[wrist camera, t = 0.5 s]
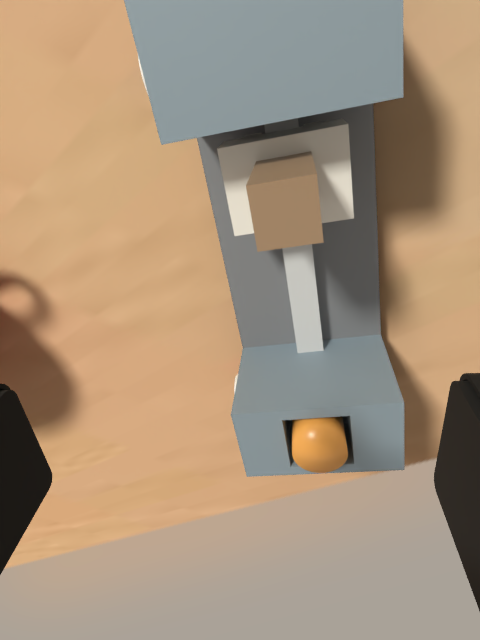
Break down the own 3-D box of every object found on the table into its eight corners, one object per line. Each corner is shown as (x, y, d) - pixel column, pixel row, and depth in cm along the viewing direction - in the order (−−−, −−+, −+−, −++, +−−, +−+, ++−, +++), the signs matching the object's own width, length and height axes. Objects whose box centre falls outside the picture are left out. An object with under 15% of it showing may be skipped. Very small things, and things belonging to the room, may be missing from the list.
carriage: (340, 117, 25) (365, 138, 17) (346, 200, 28) (370, 257, 19) (226, 139, 27) (195, 170, 18) (241, 217, 29) (219, 277, 20)
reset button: (341, 400, 29) (346, 432, 27) (344, 438, 31) (349, 471, 28) (289, 404, 30) (288, 435, 27) (295, 441, 32) (295, 474, 29)
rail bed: (364, -31, 24) (403, -87, 15) (379, 383, 37) (404, 469, 29) (166, 19, 26) (107, -7, 18) (249, 393, 39) (239, 476, 31)
